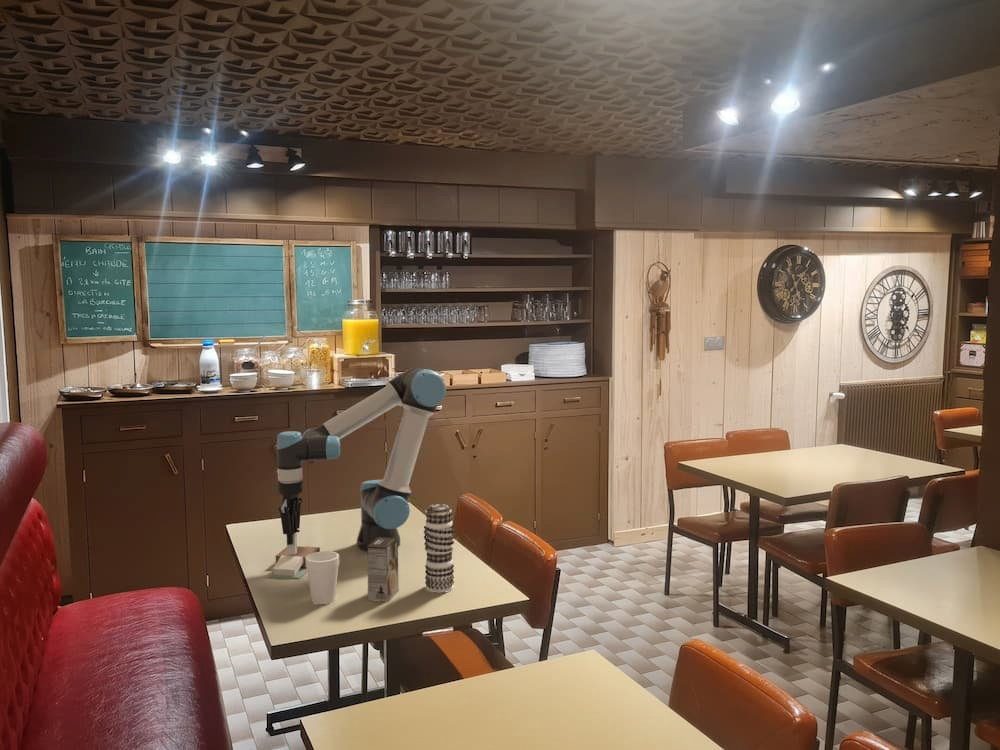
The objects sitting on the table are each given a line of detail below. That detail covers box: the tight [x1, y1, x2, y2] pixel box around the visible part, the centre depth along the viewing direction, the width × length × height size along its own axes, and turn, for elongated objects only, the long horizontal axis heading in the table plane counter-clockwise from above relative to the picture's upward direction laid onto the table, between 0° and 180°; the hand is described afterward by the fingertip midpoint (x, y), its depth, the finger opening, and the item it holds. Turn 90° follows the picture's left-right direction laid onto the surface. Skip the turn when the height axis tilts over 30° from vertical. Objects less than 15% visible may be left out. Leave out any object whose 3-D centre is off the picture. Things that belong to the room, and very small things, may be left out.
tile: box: [272, 556, 303, 576], centre depth 242 cm, size 7×7×2 cm
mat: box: [268, 568, 307, 579], centre depth 242 cm, size 10×8×1 cm
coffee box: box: [366, 537, 400, 602], centre depth 223 cm, size 9×6×16 cm
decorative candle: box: [423, 503, 456, 594], centre depth 229 cm, size 9×9×25 cm
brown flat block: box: [275, 545, 321, 569], centre depth 251 cm, size 11×10×4 cm
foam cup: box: [306, 550, 340, 605], centre depth 220 cm, size 10×9×13 cm
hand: (291, 553), depth 245 cm, fingers closed
